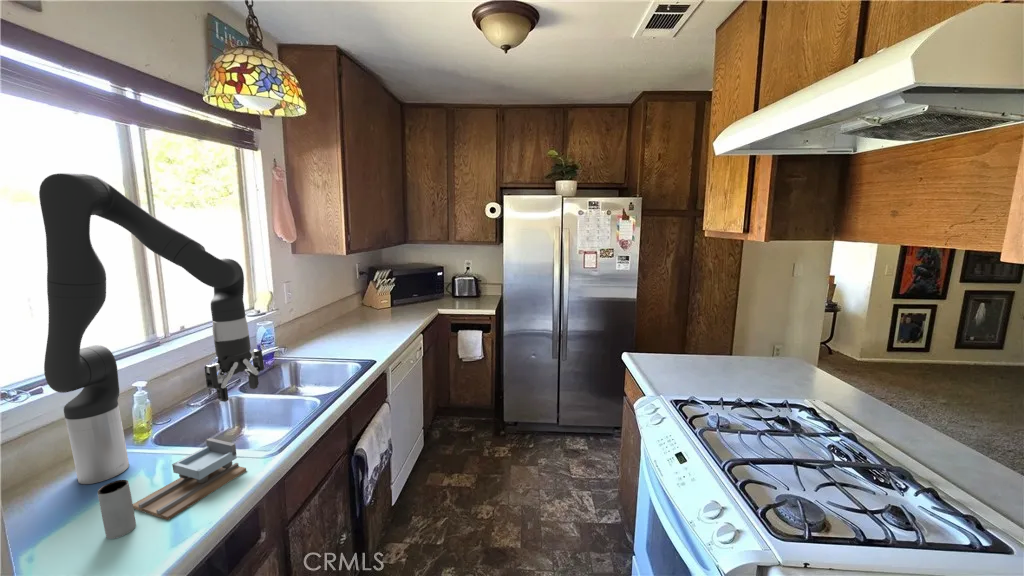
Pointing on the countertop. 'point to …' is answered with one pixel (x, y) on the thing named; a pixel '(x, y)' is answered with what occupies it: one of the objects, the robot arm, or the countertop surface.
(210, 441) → the grey open box
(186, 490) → the rail board
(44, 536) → the countertop surface
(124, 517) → the grey cylindrical cup
